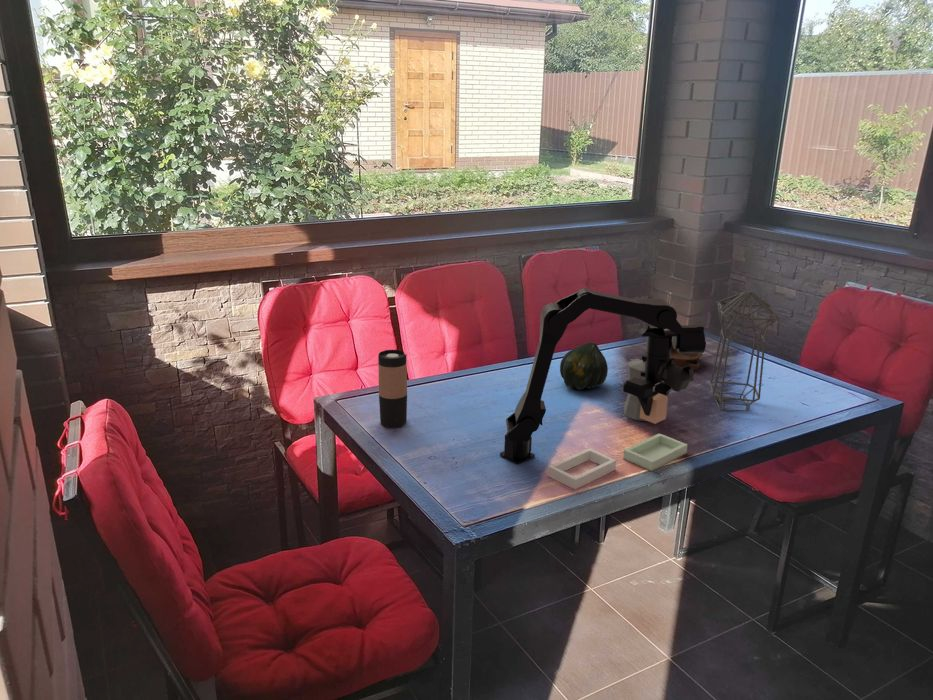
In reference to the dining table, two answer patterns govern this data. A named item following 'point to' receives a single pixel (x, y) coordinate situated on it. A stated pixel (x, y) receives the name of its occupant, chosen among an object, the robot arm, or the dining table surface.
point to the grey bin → (575, 482)
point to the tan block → (656, 409)
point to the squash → (584, 367)
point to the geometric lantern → (771, 316)
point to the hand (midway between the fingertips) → (653, 412)
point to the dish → (686, 358)
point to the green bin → (655, 452)
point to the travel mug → (392, 388)
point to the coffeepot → (632, 401)
